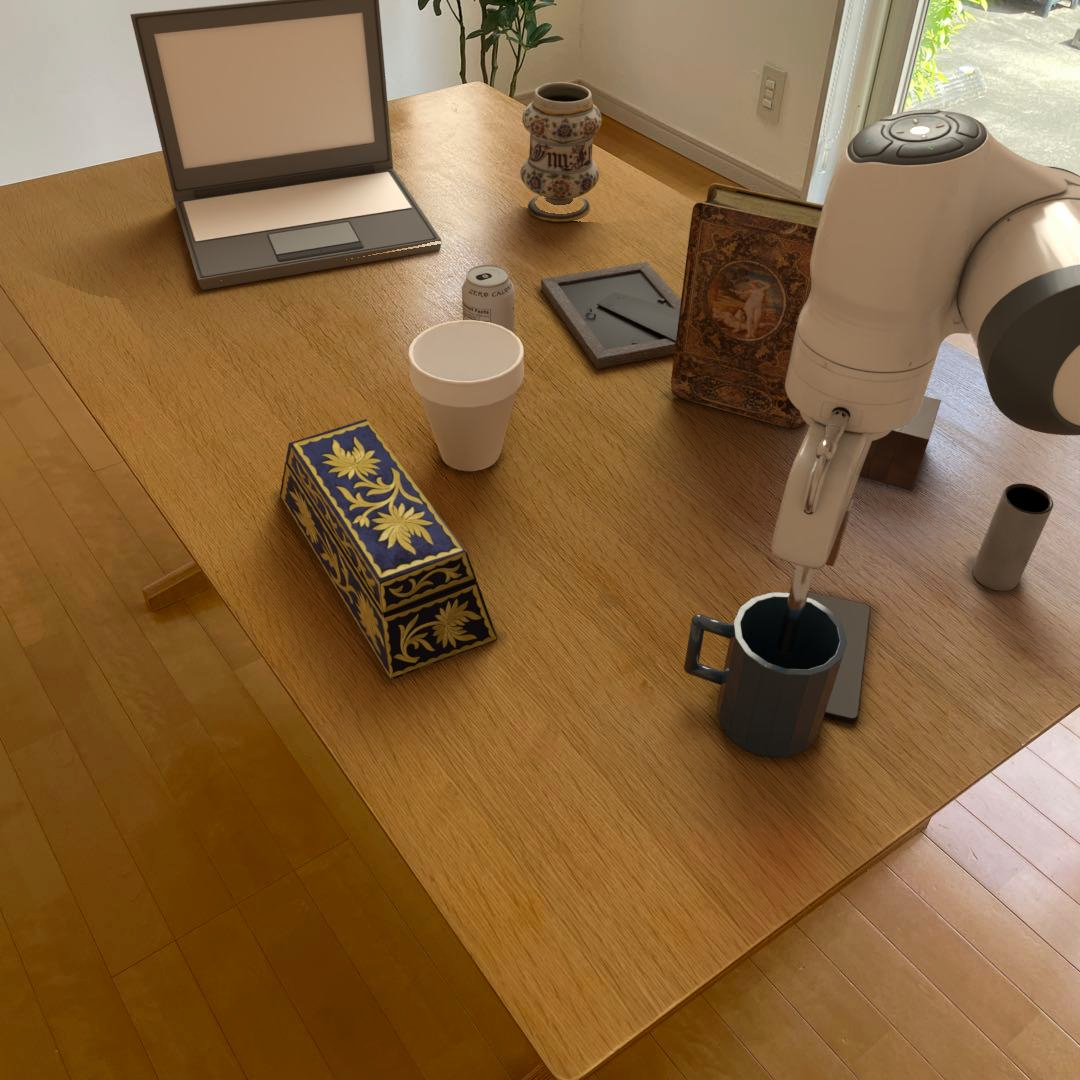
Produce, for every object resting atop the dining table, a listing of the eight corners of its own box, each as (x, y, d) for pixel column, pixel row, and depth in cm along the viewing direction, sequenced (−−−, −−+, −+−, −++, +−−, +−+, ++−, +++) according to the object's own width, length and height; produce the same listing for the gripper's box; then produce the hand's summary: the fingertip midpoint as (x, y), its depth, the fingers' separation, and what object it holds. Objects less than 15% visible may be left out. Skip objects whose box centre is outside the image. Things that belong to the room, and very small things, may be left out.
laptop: (200, 290, 145) (151, 79, 126) (175, 206, 164) (129, 12, 145) (441, 249, 155) (430, 48, 136) (392, 175, 174) (376, -12, 154)
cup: (420, 491, 115) (411, 387, 105) (412, 424, 123) (403, 323, 114) (531, 481, 116) (532, 378, 107) (516, 416, 125) (515, 315, 116)
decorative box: (371, 464, 118) (362, 398, 112) (497, 639, 99) (496, 571, 93) (278, 494, 114) (265, 427, 108) (392, 682, 95) (383, 614, 89)
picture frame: (711, 347, 137) (646, 271, 151) (713, 333, 135) (647, 258, 150) (596, 369, 132) (541, 289, 147) (597, 355, 131) (541, 276, 146)
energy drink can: (523, 389, 129) (523, 279, 119) (480, 404, 127) (477, 293, 116) (499, 366, 133) (497, 257, 123) (457, 379, 130) (451, 270, 120)
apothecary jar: (612, 208, 166) (620, 91, 153) (561, 233, 159) (564, 113, 147) (556, 185, 172) (559, 70, 159) (504, 208, 165) (503, 91, 153)
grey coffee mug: (830, 696, 95) (857, 612, 87) (805, 772, 89) (832, 689, 81) (696, 651, 98) (711, 566, 91) (664, 721, 92) (677, 637, 85)
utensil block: (924, 449, 121) (941, 399, 116) (912, 490, 116) (929, 439, 111) (855, 431, 124) (869, 382, 119) (840, 470, 118) (853, 420, 113)
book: (812, 407, 127) (858, 212, 110) (800, 432, 123) (845, 233, 106) (684, 372, 132) (708, 181, 115) (669, 395, 128) (692, 201, 111)
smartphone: (871, 604, 102) (858, 720, 92) (869, 610, 103) (855, 727, 92) (800, 588, 104) (778, 701, 93) (798, 595, 105) (777, 708, 94)
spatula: (809, 653, 87) (853, 499, 75) (805, 665, 86) (849, 510, 75) (762, 637, 88) (799, 483, 77) (758, 649, 87) (794, 494, 76)
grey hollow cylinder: (975, 554, 108) (1007, 477, 101) (1021, 568, 107) (1056, 491, 100) (968, 582, 105) (1000, 504, 98) (1015, 597, 104) (1050, 519, 97)
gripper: (873, 477, 60) (826, 638, 70) (932, 311, 74) (886, 464, 84) (766, 448, 62) (734, 609, 72) (843, 291, 76) (808, 443, 85)
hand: (816, 530), depth 78 cm, fingers closed on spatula, 1 cm apart
